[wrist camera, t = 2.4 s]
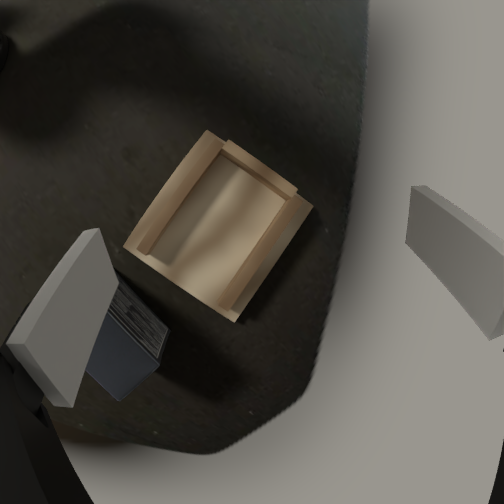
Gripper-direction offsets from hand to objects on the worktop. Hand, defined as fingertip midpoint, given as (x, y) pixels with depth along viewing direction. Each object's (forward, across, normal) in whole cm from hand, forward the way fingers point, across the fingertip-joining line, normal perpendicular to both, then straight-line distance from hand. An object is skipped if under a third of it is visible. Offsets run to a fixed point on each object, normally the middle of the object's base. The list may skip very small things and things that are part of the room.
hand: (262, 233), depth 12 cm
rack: (+21, -3, -9) cm, 24 cm away
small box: (+16, -16, -16) cm, 28 cm away
